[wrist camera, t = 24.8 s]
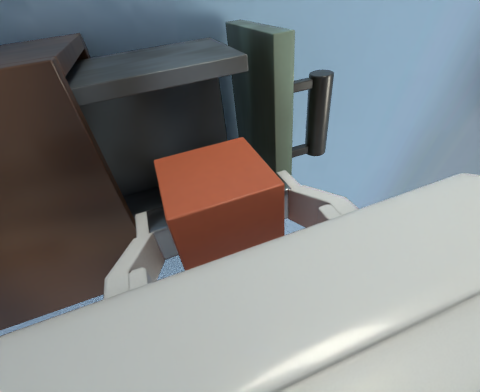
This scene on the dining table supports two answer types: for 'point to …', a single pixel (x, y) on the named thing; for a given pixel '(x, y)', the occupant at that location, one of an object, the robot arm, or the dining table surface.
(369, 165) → the dining table surface
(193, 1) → the dining table surface
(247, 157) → the block
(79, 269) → the cabinet
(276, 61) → the drawer
